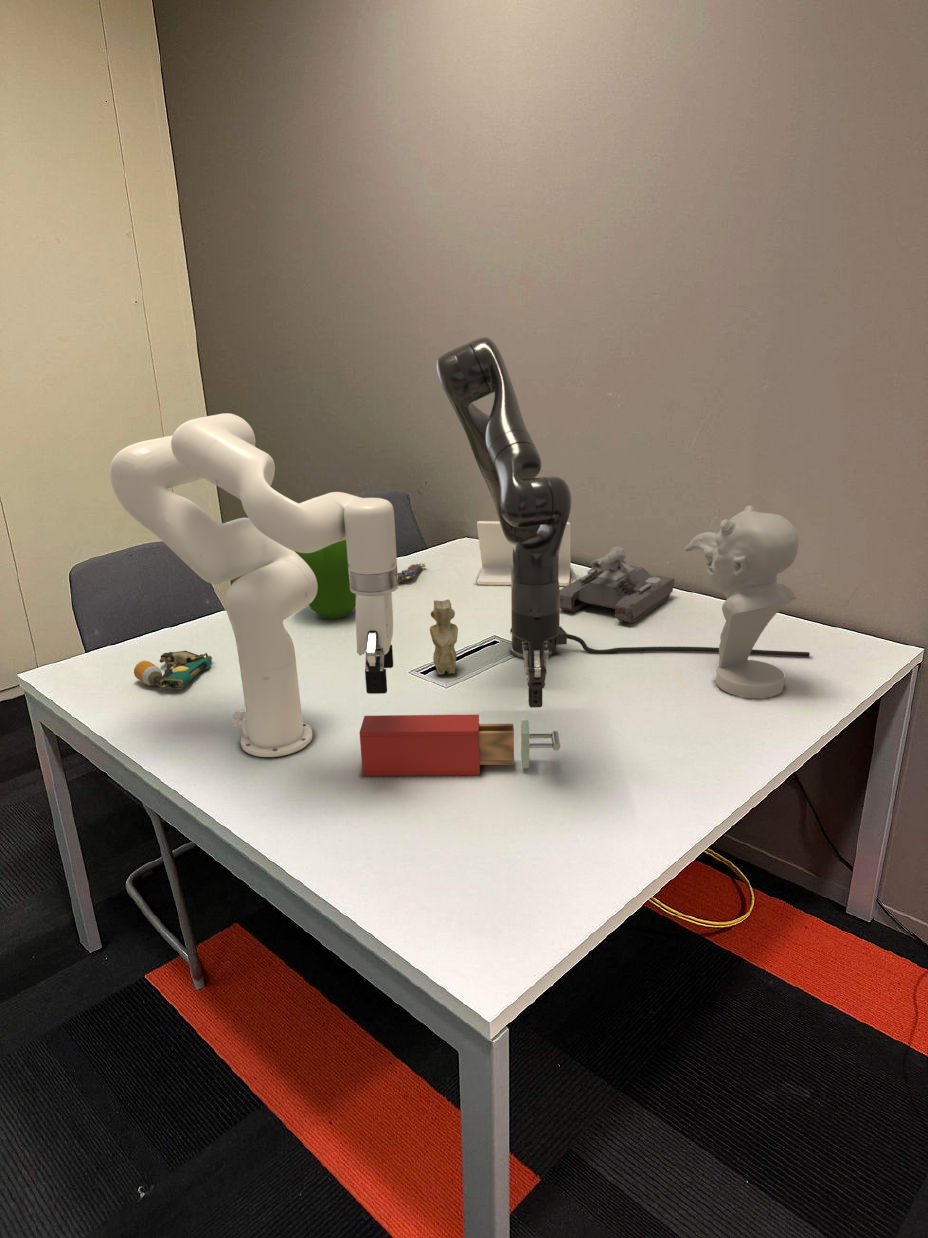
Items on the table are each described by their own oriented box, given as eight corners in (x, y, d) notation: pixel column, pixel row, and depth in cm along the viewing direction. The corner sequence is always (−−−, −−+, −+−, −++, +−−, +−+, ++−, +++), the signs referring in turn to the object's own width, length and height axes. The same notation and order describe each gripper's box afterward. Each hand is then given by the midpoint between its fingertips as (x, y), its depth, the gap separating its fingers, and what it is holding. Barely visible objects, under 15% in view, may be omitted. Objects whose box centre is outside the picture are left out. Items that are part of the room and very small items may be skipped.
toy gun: (374, 578, 232) (409, 575, 230) (392, 563, 250) (425, 560, 247) (376, 588, 232) (411, 585, 230) (394, 572, 250) (427, 569, 248)
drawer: (558, 753, 144) (558, 719, 142) (560, 767, 140) (560, 733, 138) (421, 754, 145) (419, 721, 143) (418, 769, 141) (417, 734, 138)
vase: (389, 608, 216) (383, 514, 208) (339, 633, 201) (330, 533, 192) (330, 596, 226) (322, 506, 218) (278, 619, 211) (267, 523, 202)
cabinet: (480, 757, 146) (479, 714, 143) (479, 775, 140) (478, 731, 137) (367, 758, 146) (364, 715, 143) (362, 776, 141) (359, 732, 138)
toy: (603, 584, 229) (605, 530, 224) (673, 597, 218) (677, 540, 213) (555, 612, 210) (556, 553, 205) (630, 627, 199) (633, 566, 194)
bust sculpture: (717, 648, 186) (730, 489, 174) (806, 688, 166) (828, 512, 154) (660, 663, 179) (669, 500, 167) (745, 707, 159) (763, 525, 147)
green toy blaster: (177, 659, 191) (231, 671, 185) (120, 684, 176) (176, 698, 171) (176, 641, 190) (230, 653, 184) (118, 665, 175) (174, 678, 169)
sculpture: (458, 662, 183) (456, 596, 178) (460, 676, 176) (457, 608, 171) (431, 663, 183) (428, 597, 177) (431, 677, 176) (428, 609, 171)
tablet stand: (569, 585, 229) (570, 524, 223) (476, 584, 232) (475, 523, 226) (570, 566, 246) (571, 508, 240) (484, 564, 249) (483, 507, 243)
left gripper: (357, 563, 140) (364, 658, 146) (340, 598, 124) (349, 704, 130) (402, 562, 140) (408, 658, 146) (392, 597, 124) (398, 703, 130)
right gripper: (510, 592, 139) (511, 688, 145) (512, 621, 127) (513, 725, 133) (556, 591, 139) (555, 687, 145) (563, 620, 127) (561, 724, 133)
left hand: (380, 679), depth 138 cm, fingers open, 9 cm apart
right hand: (535, 705), depth 139 cm, fingers closed
